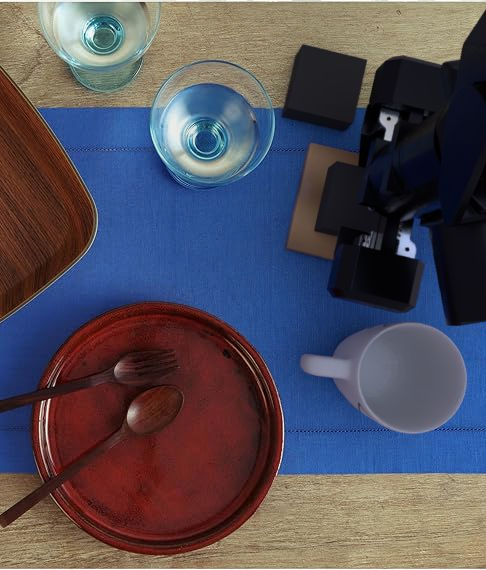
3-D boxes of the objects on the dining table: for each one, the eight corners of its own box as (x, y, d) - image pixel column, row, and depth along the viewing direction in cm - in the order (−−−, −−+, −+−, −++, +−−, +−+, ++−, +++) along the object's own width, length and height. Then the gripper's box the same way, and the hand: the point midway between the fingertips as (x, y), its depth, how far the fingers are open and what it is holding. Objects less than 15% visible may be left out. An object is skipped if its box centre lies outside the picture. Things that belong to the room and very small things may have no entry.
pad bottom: (328, 167, 56) (336, 160, 54) (391, 182, 56) (403, 176, 54) (313, 231, 56) (321, 227, 53) (377, 246, 56) (389, 243, 53)
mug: (280, 404, 56) (311, 424, 46) (289, 312, 57) (322, 311, 47) (405, 418, 56) (463, 440, 46) (413, 325, 57) (472, 327, 47)
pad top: (295, 55, 58) (302, 43, 55) (357, 70, 58) (367, 59, 55) (281, 116, 57) (287, 107, 55) (343, 131, 57) (353, 123, 55)
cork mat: (307, 145, 57) (310, 141, 56) (412, 170, 57) (417, 167, 56) (284, 249, 57) (286, 248, 56) (389, 274, 57) (394, 274, 56)
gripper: (535, 332, 39) (421, 328, 55) (593, 52, 40) (465, 126, 56) (364, 291, 39) (299, 298, 55) (426, 11, 40) (345, 97, 56)
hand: (356, 205), depth 55 cm, fingers closed on pad bottom, 6 cm apart
